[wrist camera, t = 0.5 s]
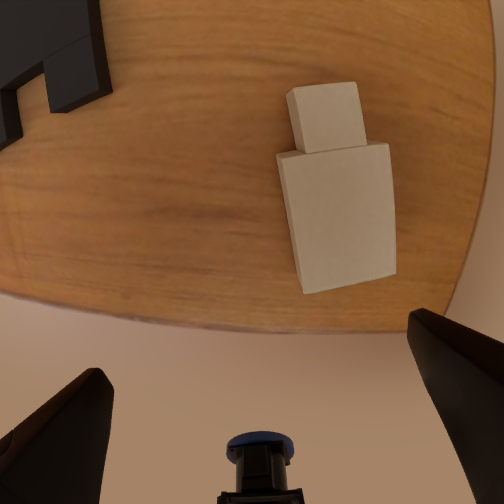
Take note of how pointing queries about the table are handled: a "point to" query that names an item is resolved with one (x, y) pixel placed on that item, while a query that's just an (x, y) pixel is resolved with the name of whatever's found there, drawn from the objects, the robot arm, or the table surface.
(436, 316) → the robot arm
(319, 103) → the beige stepped block
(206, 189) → the table surface
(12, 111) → the socket pad
